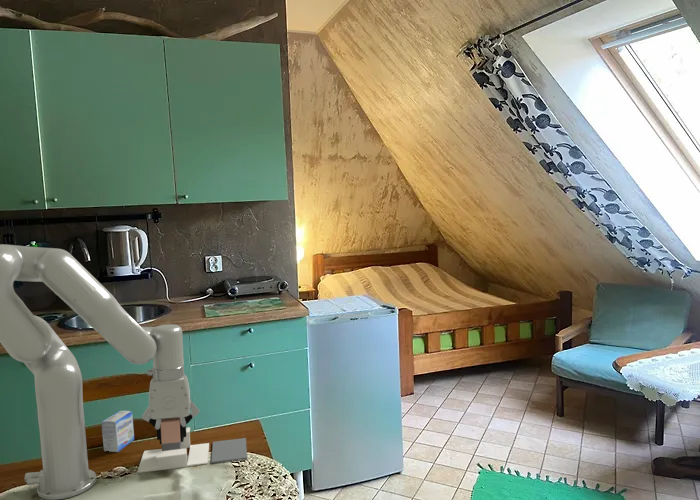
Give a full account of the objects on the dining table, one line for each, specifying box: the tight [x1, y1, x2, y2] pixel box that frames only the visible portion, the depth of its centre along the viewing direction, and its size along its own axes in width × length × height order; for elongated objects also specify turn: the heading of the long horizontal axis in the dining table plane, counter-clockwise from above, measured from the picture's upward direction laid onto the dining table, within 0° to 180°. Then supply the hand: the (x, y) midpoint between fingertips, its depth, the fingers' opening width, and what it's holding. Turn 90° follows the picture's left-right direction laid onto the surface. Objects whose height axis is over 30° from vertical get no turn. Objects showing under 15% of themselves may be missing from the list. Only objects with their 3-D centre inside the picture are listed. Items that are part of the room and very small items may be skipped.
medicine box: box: [101, 410, 135, 453], centre depth 153 cm, size 8×4×9 cm, turn 168°
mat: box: [211, 437, 248, 465], centre depth 148 cm, size 9×12×1 cm
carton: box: [137, 426, 210, 474], centre depth 145 cm, size 17×16×4 cm
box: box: [161, 418, 182, 451], centre depth 144 cm, size 4×6×8 cm
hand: (172, 440), depth 144 cm, fingers closed on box, 4 cm apart
